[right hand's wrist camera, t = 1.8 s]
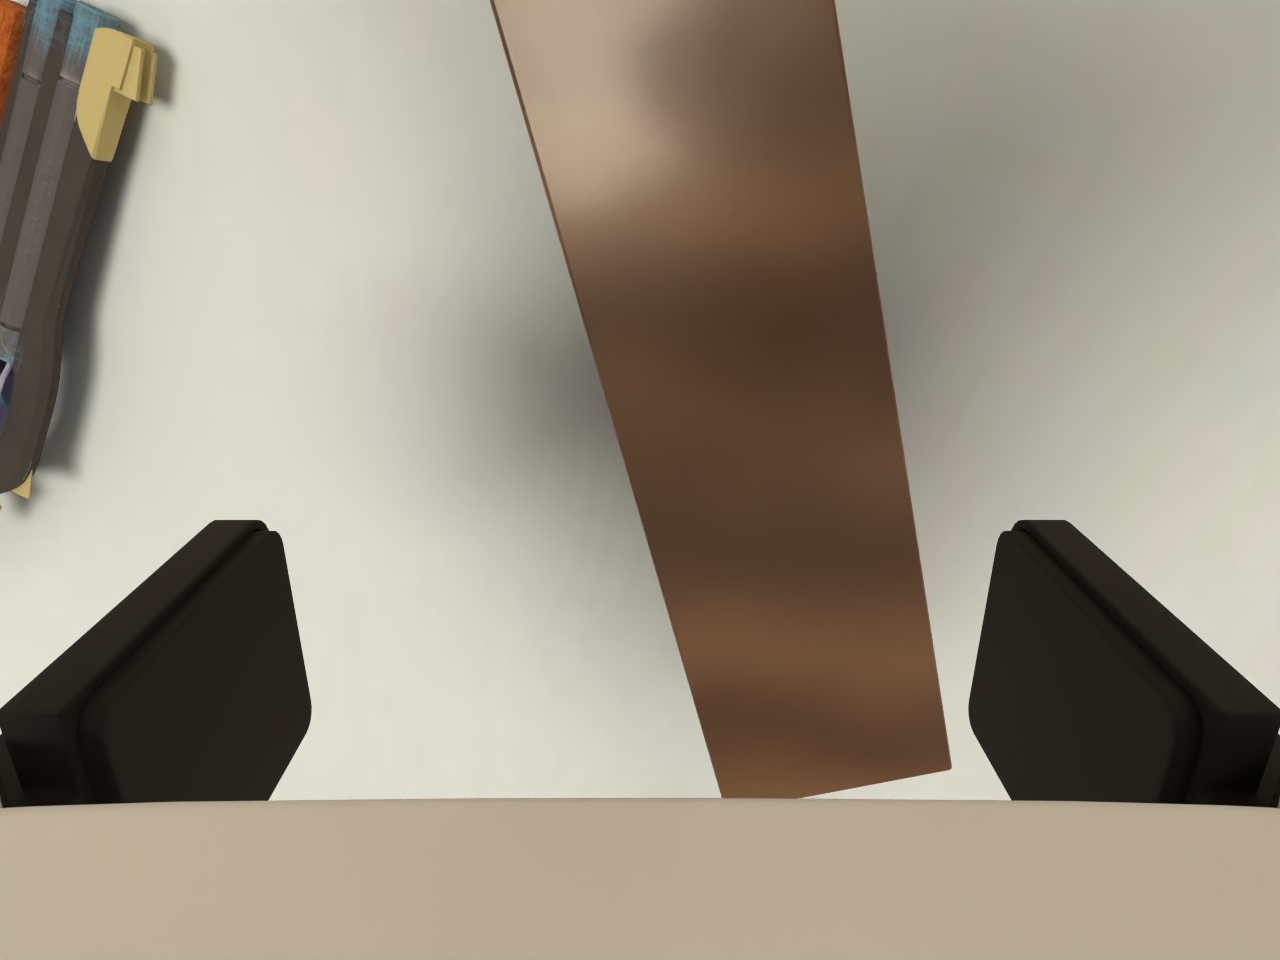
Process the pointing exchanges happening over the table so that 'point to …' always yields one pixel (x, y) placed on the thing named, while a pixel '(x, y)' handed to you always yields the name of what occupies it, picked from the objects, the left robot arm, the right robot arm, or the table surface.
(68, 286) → the toy gun
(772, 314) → the beam
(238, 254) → the table surface
